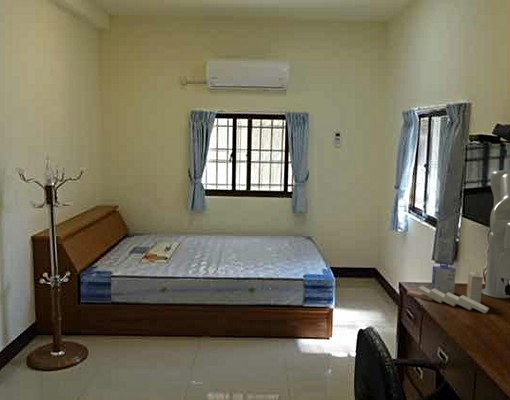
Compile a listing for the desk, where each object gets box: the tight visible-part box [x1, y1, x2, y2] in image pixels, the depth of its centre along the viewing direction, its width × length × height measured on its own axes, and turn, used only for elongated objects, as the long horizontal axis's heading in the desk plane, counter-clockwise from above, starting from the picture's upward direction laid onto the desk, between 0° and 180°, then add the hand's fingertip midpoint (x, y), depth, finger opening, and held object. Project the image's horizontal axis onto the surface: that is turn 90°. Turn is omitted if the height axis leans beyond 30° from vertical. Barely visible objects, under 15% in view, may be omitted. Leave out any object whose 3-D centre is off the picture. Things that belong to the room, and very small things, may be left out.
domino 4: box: [444, 292, 474, 311], centre depth 231 cm, size 4×2×12 cm
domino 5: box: [458, 294, 490, 314], centre depth 227 cm, size 4×2×12 cm
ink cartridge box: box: [430, 261, 457, 295], centre depth 250 cm, size 10×6×14 cm, turn 89°
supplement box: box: [465, 271, 484, 304], centre depth 237 cm, size 8×5×13 cm, turn 168°
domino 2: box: [416, 285, 445, 304], centre depth 239 cm, size 4×2×12 cm
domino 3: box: [429, 289, 458, 307], centre depth 235 cm, size 4×2×12 cm
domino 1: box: [406, 289, 435, 301], centre depth 242 cm, size 4×2×12 cm
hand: (508, 294), depth 217 cm, fingers closed
